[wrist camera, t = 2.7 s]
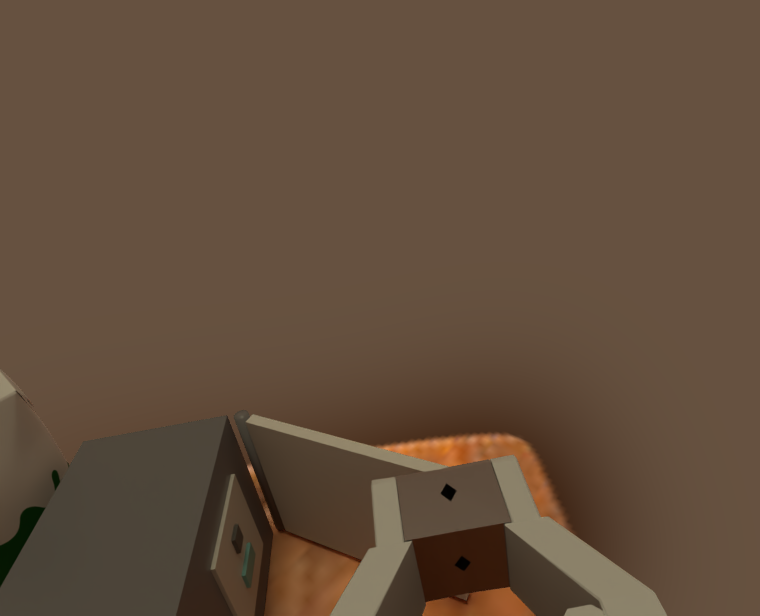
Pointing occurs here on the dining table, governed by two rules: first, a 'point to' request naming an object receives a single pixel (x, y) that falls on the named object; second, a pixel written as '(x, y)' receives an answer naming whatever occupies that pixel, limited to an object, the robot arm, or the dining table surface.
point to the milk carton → (23, 471)
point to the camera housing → (148, 531)
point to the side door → (321, 481)
